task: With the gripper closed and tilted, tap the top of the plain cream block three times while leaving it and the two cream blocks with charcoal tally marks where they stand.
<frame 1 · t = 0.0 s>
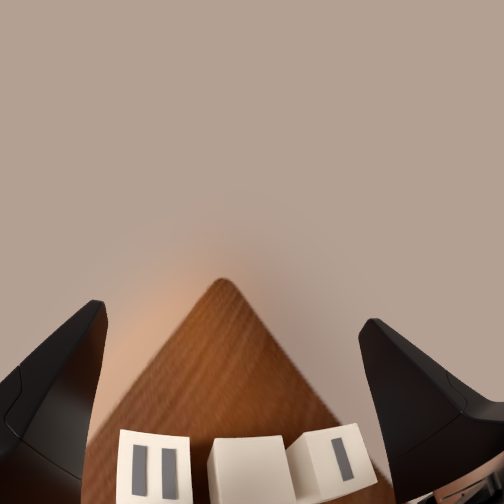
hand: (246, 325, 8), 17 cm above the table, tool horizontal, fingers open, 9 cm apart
marked block two: (162, 488, 13), on the table
marked block one: (302, 481, 16), on the table
plain block: (235, 489, 15), on the table
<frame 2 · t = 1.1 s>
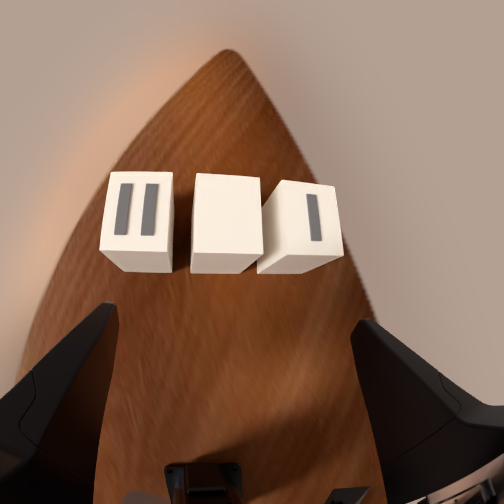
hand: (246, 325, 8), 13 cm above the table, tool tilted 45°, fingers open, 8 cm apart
marked block two: (149, 241, 21), on the table
marked block one: (278, 245, 24), on the table
plain block: (215, 243, 23), on the table
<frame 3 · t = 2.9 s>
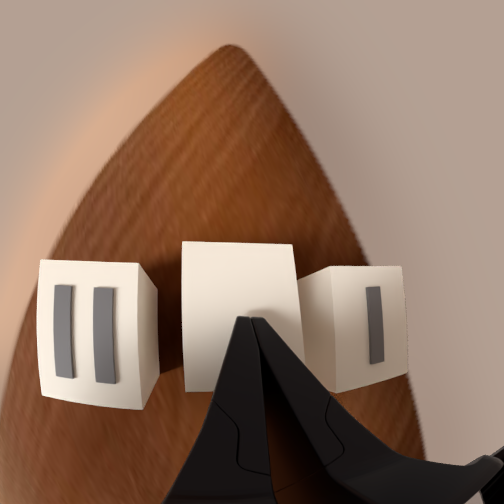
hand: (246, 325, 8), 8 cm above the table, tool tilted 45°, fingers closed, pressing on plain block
marked block two: (124, 331, 14), on the table
marked block one: (305, 328, 17), on the table
plain block: (218, 332, 15), on the table, tilted 7°, touching gripper
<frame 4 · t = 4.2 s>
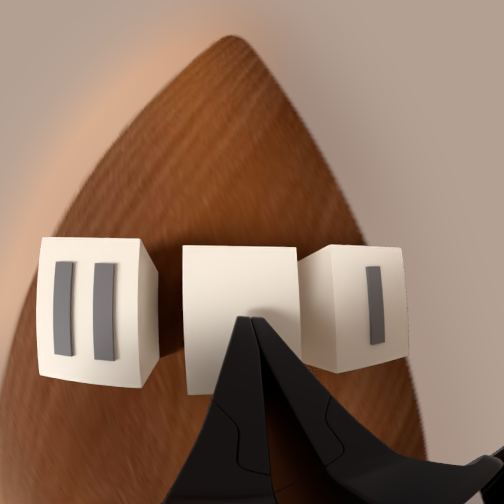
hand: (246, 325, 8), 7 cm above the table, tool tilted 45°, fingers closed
marked block two: (124, 314, 14), on the table
marked block one: (305, 312, 17), on the table
plain block: (218, 316, 16), on the table
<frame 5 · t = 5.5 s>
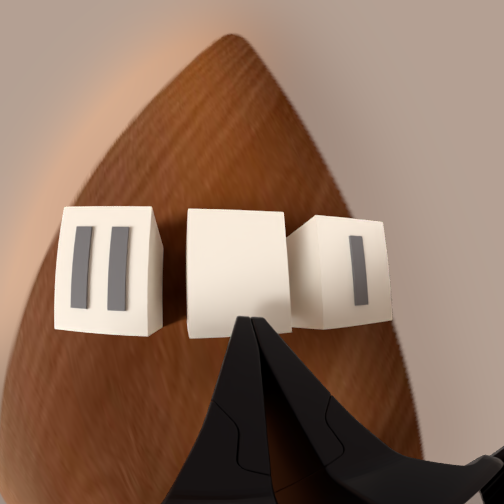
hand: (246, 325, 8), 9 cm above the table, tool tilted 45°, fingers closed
marked block two: (131, 286, 16), on the table
marked block one: (298, 286, 19), on the table
plain block: (217, 287, 17), on the table
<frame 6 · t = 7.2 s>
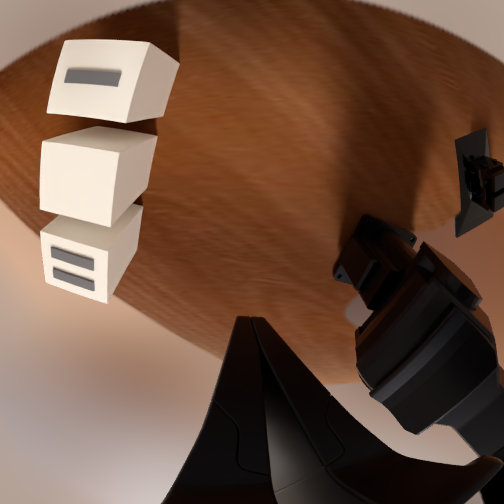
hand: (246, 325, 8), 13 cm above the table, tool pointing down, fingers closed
marked block two: (112, 221, 20), on the table
marked block one: (138, 84, 15), on the table
black boxy piece: (471, 174, 20), on the table
plain block: (121, 156, 18), on the table
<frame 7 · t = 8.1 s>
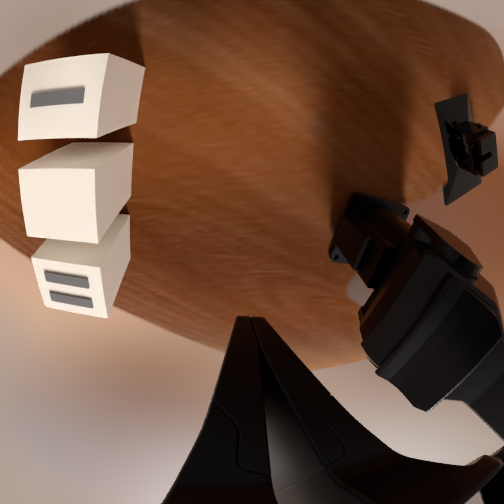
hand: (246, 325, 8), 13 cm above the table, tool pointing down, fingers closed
marked block two: (101, 234, 20), on the table
marked block one: (107, 94, 14), on the table
black boxy piece: (456, 140, 20), on the table
plain block: (100, 168, 17), on the table
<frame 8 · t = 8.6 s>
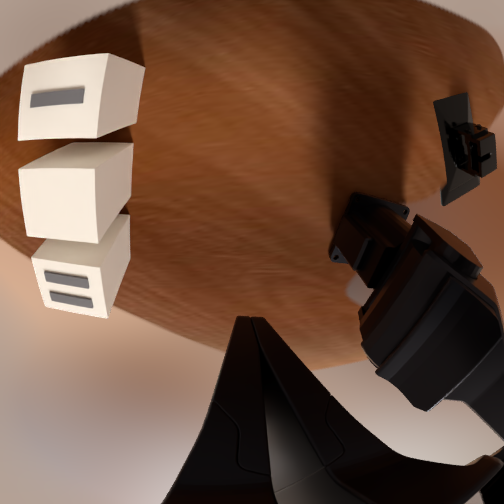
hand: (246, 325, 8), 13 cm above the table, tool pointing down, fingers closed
marked block two: (101, 234, 20), on the table
marked block one: (107, 94, 14), on the table
black boxy piece: (455, 141, 20), on the table
plain block: (100, 168, 17), on the table
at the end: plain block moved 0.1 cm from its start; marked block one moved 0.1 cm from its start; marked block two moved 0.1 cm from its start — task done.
